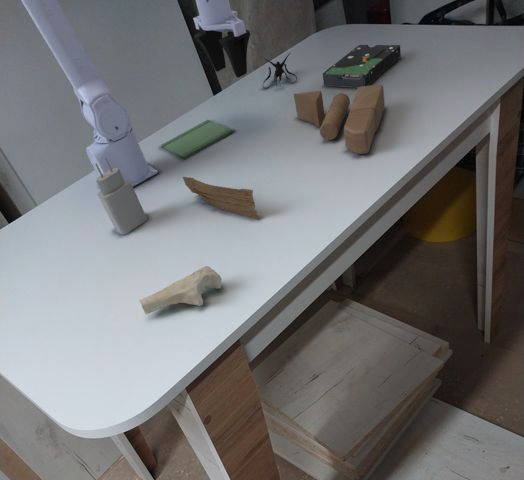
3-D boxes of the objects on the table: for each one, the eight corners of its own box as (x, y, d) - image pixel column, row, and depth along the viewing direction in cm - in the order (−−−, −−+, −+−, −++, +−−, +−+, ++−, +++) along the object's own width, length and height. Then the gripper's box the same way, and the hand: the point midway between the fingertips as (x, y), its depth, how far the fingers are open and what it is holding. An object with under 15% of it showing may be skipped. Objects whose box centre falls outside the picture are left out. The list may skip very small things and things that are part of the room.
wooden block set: (383, 75, 94) (367, 123, 83) (385, 106, 98) (370, 156, 87) (294, 86, 100) (267, 132, 89) (299, 115, 104) (274, 163, 93)
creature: (297, 90, 116) (297, 68, 120) (292, 67, 112) (293, 45, 115) (263, 97, 118) (264, 75, 122) (257, 75, 113) (258, 53, 117)
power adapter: (148, 218, 90) (119, 153, 82) (124, 235, 89) (91, 171, 80) (139, 214, 92) (109, 150, 84) (114, 230, 90) (81, 167, 82)
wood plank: (264, 214, 83) (256, 186, 79) (256, 221, 82) (248, 193, 78) (199, 197, 92) (189, 171, 88) (191, 203, 91) (181, 177, 87)
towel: (184, 159, 103) (183, 156, 103) (161, 147, 110) (161, 144, 109) (233, 132, 106) (232, 129, 106) (208, 121, 113) (207, 119, 113)
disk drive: (359, 58, 118) (323, 86, 111) (358, 44, 116) (321, 73, 109) (401, 58, 112) (365, 89, 105) (401, 44, 110) (364, 74, 103)
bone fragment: (145, 311, 73) (134, 291, 71) (219, 278, 74) (211, 258, 72) (151, 330, 70) (141, 311, 67) (229, 296, 71) (221, 276, 68)
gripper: (251, -16, 88) (268, 69, 98) (207, -19, 98) (227, 59, 107) (217, 0, 86) (238, 84, 96) (176, -5, 96) (199, 73, 105)
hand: (230, 72), depth 101 cm, fingers open, 7 cm apart
